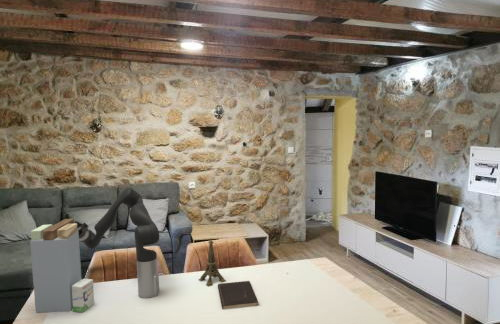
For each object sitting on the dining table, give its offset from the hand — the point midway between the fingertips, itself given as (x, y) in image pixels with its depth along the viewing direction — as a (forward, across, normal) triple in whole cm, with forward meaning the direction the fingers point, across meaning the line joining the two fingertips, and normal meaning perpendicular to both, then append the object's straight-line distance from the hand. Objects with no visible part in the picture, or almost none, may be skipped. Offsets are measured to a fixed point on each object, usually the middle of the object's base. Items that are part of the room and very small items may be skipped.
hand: (66, 223), depth 175 cm
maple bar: (+9, +6, +8) cm, 13 cm away
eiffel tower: (-24, +68, +27) cm, 77 cm away
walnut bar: (+5, 0, +6) cm, 8 cm away
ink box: (-4, +12, +38) cm, 40 cm away
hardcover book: (-8, +80, +37) cm, 88 cm away
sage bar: (+9, -6, +8) cm, 13 cm away
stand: (-7, 0, +36) cm, 37 cm away
